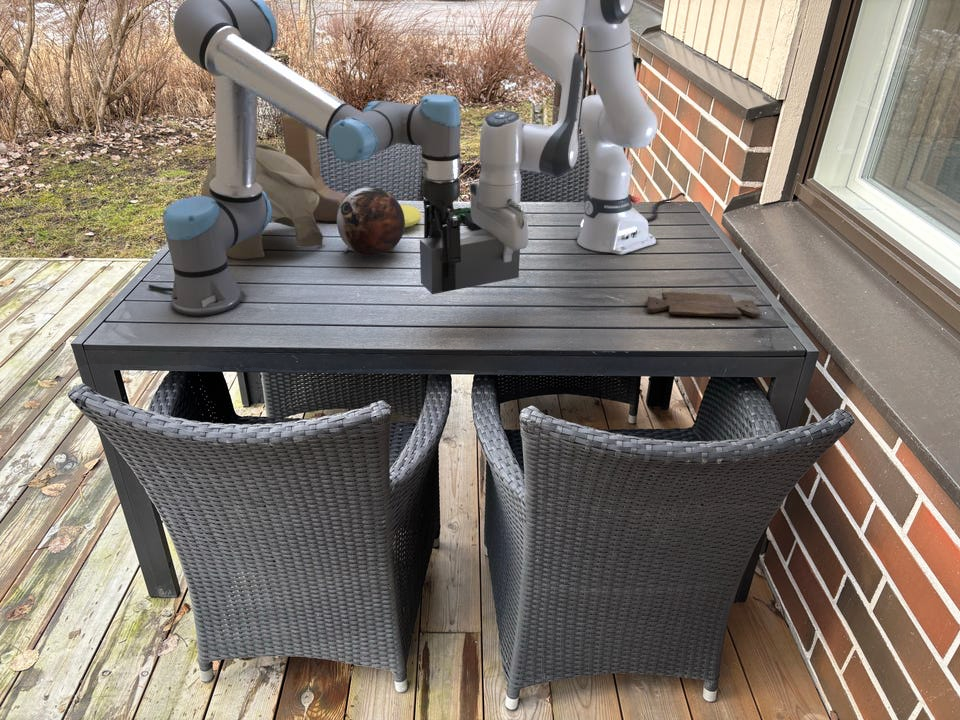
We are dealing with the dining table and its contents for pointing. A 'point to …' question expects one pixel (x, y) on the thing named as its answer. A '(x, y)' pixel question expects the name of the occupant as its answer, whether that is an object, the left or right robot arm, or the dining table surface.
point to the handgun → (466, 217)
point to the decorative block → (311, 166)
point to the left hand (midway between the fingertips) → (442, 283)
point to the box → (468, 261)
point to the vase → (411, 215)
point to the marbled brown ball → (370, 221)
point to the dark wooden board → (702, 305)
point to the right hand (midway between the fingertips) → (498, 254)
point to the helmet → (280, 199)
